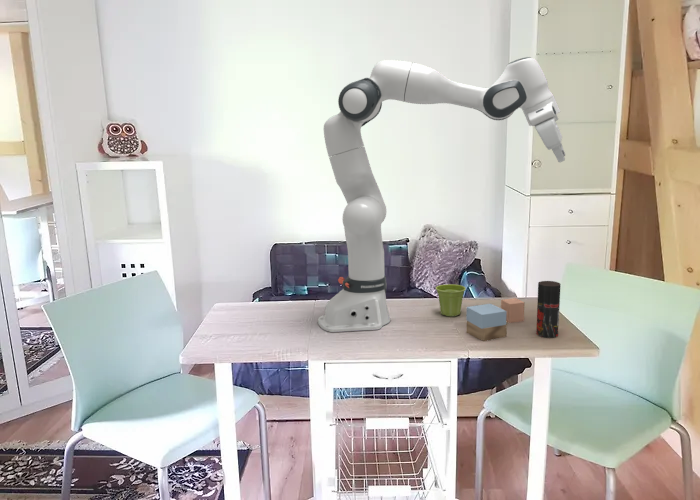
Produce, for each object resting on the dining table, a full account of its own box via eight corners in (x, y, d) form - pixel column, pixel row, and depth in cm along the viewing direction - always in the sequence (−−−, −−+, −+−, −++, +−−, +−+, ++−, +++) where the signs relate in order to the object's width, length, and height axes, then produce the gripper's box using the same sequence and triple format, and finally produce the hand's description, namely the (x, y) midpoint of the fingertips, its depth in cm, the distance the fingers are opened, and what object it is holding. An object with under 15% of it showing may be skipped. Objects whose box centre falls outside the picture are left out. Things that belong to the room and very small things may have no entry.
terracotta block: (509, 323, 178) (510, 304, 176) (500, 318, 182) (501, 299, 181) (523, 321, 179) (524, 302, 178) (514, 316, 184) (515, 298, 183)
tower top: (481, 328, 163) (481, 314, 162) (466, 320, 170) (466, 306, 169) (506, 324, 165) (506, 311, 164) (490, 316, 173) (490, 303, 172)
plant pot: (433, 310, 192) (433, 284, 191) (461, 309, 193) (462, 283, 191) (438, 319, 183) (438, 292, 181) (468, 317, 183) (468, 291, 182)
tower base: (484, 342, 163) (484, 328, 162) (466, 333, 170) (466, 320, 169) (506, 337, 167) (506, 323, 166) (488, 329, 174) (488, 316, 173)
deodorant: (559, 338, 164) (562, 286, 161) (537, 337, 165) (539, 286, 162) (556, 331, 169) (559, 281, 166) (535, 330, 171) (537, 280, 168)
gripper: (533, 116, 172) (552, 159, 174) (528, 121, 154) (549, 169, 155) (554, 106, 169) (573, 149, 171) (552, 110, 151) (573, 158, 152)
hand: (562, 159), depth 163 cm, fingers open, 8 cm apart
